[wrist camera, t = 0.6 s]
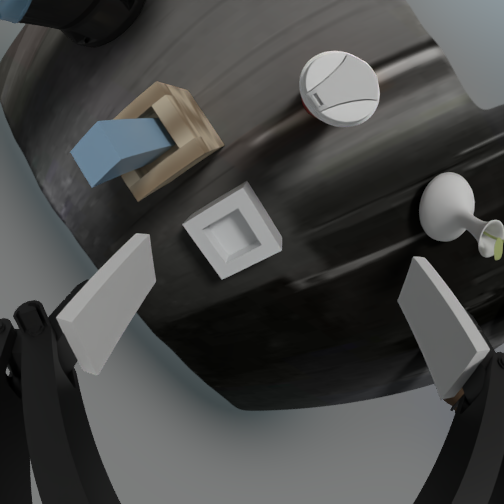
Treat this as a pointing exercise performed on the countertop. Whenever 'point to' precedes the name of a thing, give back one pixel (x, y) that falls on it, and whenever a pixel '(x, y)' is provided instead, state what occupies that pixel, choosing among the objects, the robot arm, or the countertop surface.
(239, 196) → the block
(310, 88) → the paper cup
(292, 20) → the countertop surface
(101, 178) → the plug
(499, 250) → the flower in vase
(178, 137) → the block
